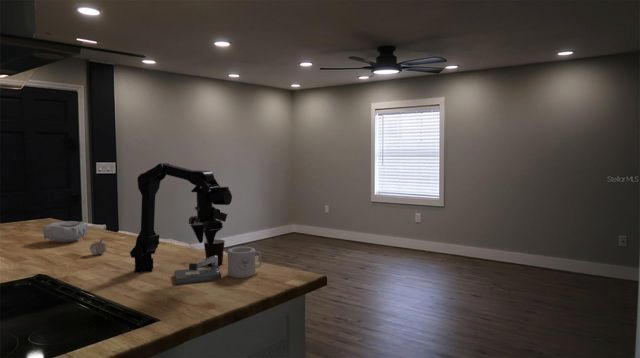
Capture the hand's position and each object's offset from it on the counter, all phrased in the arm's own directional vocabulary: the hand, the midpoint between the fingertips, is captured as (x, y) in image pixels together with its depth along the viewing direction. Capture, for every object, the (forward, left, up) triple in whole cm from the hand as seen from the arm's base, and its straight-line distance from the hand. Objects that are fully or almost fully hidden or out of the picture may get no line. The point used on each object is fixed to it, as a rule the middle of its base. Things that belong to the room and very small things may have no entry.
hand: (205, 244), depth 168 cm
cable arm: (0, +6, -12) cm, 13 cm away
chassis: (-3, +1, -13) cm, 13 cm away
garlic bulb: (-41, +56, -13) cm, 71 cm away
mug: (+15, -1, -13) cm, 20 cm away
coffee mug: (+7, +19, -13) cm, 24 cm away
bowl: (-59, +94, -13) cm, 112 cm away
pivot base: (+5, +10, -13) cm, 17 cm away
